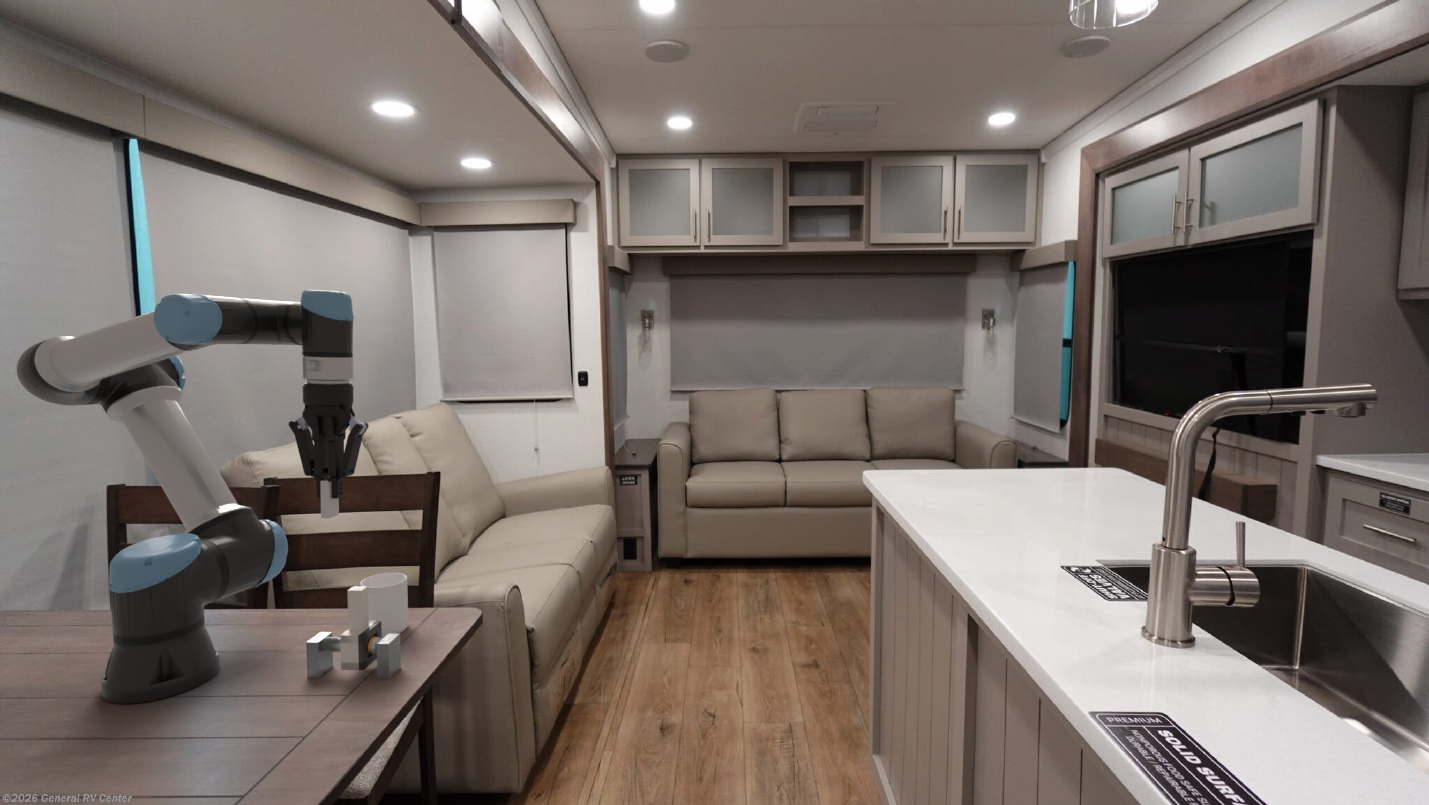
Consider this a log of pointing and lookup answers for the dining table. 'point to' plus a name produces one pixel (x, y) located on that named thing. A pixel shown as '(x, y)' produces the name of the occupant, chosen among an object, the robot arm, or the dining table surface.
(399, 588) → the mug
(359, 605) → the sleeve
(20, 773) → the dining table surface
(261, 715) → the dining table surface
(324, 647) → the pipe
